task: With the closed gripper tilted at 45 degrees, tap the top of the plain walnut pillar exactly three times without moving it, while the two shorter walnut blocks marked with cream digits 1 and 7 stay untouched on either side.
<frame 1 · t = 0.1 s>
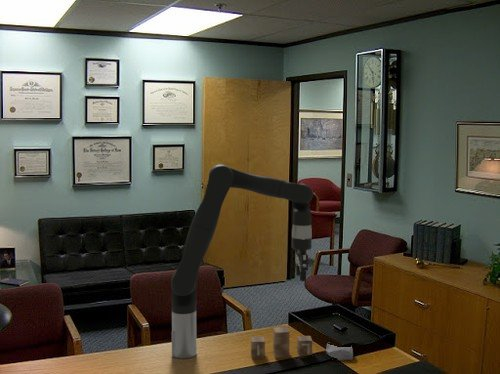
hand: (300, 278, 221), 29 cm above the table, tool pointing down, fingers open, 8 cm apart
block one: (257, 355, 220), on the table
block seven: (304, 354, 221), on the table
stone block: (338, 355, 222), on the table
plain pillar: (281, 355, 220), on the table
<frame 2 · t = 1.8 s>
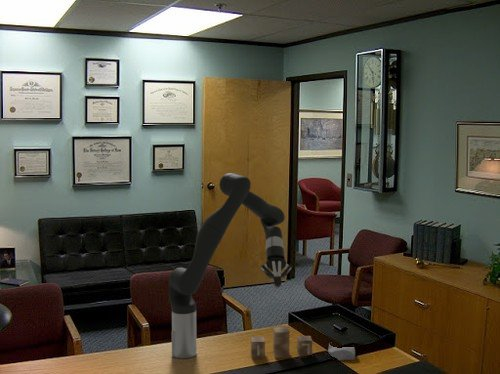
hand: (277, 286, 230), 23 cm above the table, tool tilted 45°, fingers closed
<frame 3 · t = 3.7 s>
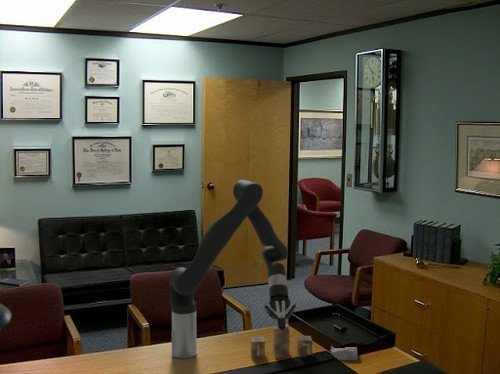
hand: (281, 328, 219), 11 cm above the table, tool tilted 45°, fingers closed
plain pillar: (281, 355, 220), on the table, touching gripper
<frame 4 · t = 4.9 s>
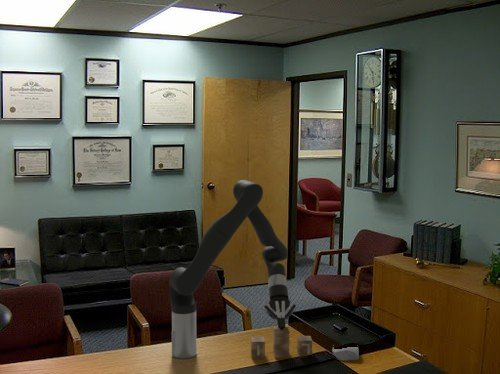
hand: (281, 328, 219), 11 cm above the table, tool tilted 45°, fingers closed
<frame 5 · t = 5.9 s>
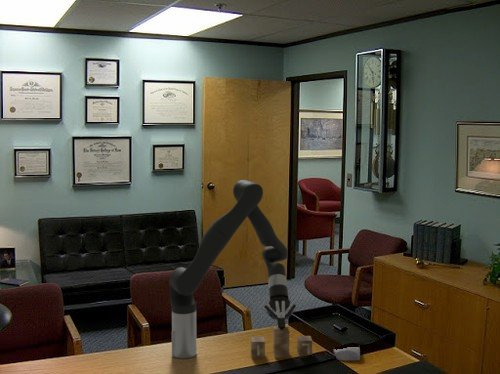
hand: (281, 328, 219), 11 cm above the table, tool tilted 45°, fingers closed
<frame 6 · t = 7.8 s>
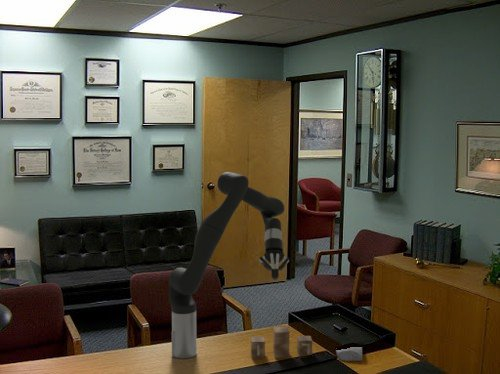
hand: (275, 278, 233), 26 cm above the table, tool tilted 40°, fingers closed
plain pillar: (281, 355, 220), on the table
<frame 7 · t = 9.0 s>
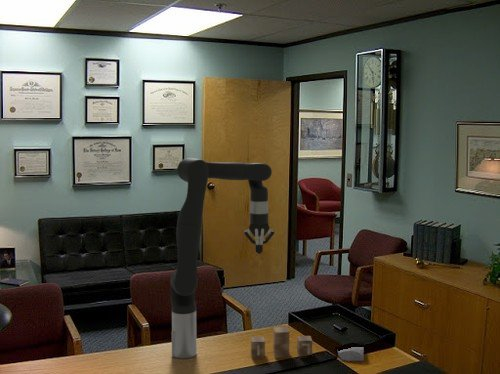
hand: (259, 253, 237), 35 cm above the table, tool pointing down, fingers closed
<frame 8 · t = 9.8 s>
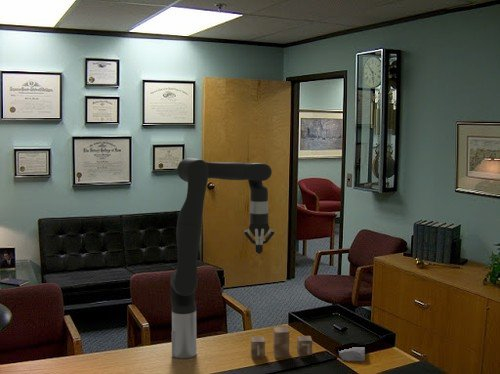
hand: (259, 253, 237), 35 cm above the table, tool pointing down, fingers closed
at the end: plain pillar moved 0.1 cm from its start; plain pillar tilted 0°; block one moved 0.1 cm from its start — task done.
